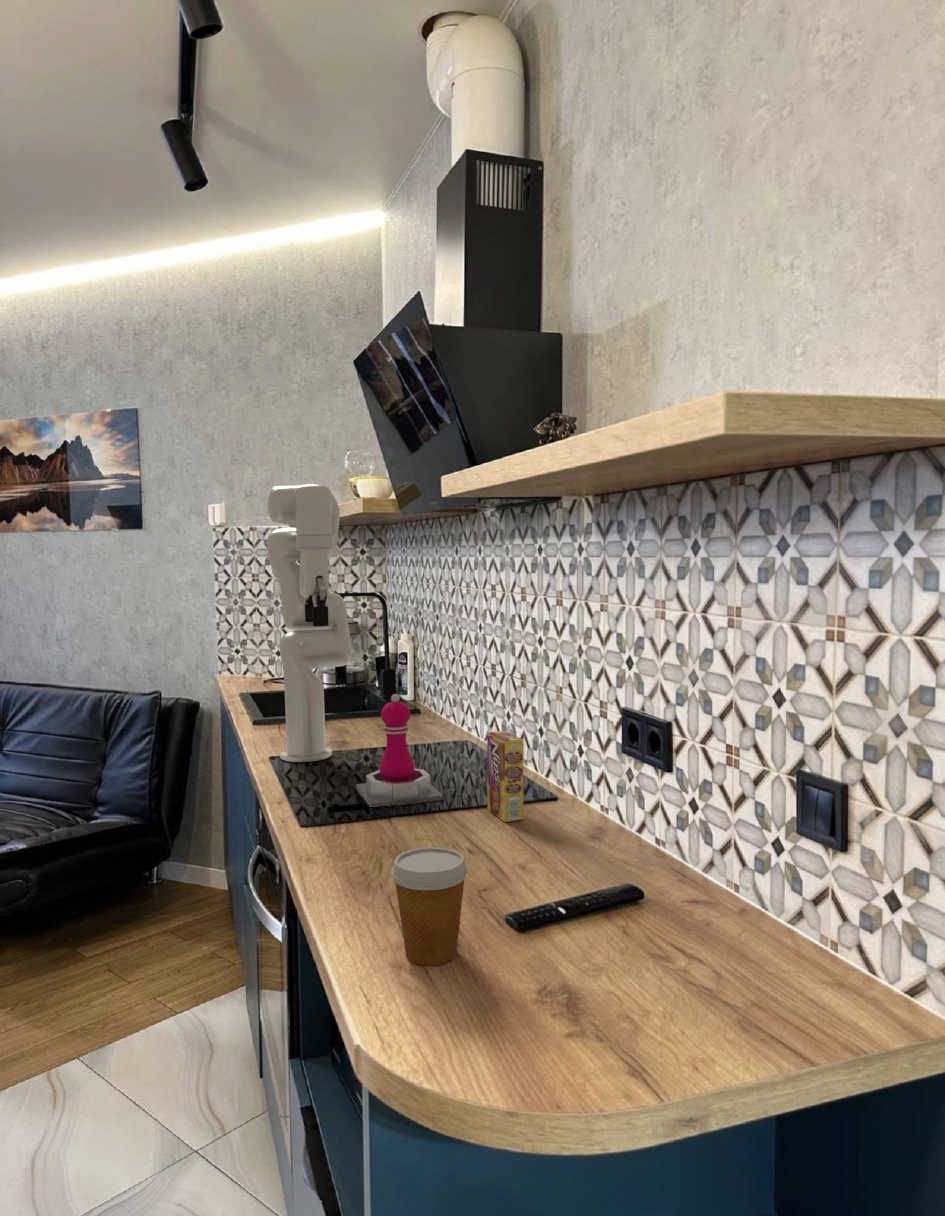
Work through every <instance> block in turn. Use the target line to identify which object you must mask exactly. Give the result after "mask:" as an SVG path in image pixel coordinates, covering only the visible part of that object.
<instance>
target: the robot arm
mask: <svg viewBox="0 0 945 1216" xmlns="http://www.w3.org/2000/svg"><path fill="white" fill-rule="evenodd" d="M266 503H267V506H266V507H267V513H268V517H269V518H270V520H271V521H272V522H273V523H277V524H283V525H286V526H288V527H283V528H278V529H275V530H272V531H271V532H270V533H269V534H268V537H267V540H266V548H267V554H268V559H269V560H268V561H269V563H270V566H271V568H272V572H273V573H274V575H275V576H276V579H277V581H278V584H279V585H278V586H279V590H280V591H279V592H280V601H281V612H282V620H283V623H284V625H285V626H286V628H287V629H289V630H291V631H289V632H287V633H285V634H284V635H283V636H282V637H281V638H280V641H279V654H280V660H281V665H282V672H283V681H284V682H283V684H284V685H283V686H284V703H285V704H284V705H285V706H284V707H285V734H286V735H285V738H286V739H285V740H286V749H285V750H283V751H281V752H280V755H279V757H280V759H281V760H283V761H286V762H290V763H291V762H292V763H309V762H310V763H311V762H317V761H322V760H326V759H329V758H330V757H331V756H333V750H332V749H331V748H328V747H326V728H325V727H326V726H325V725H326V723H325V721H326V720H325V719H326V717H325V691H324V690H325V688H324V684H323V682H322V680H321V679H320V678H319V677H318V676H317V675H316V673H314V671H313V670H314V669H319V668H320V669H321V668H323V669H325V668H336V667H337V668H338V667H344V666H346V665H348V664H349V663H350V661H351V659H352V654H353V653H352V652H353V650H352V639H351V634H350V627H349V621H348V620H349V618H348V613H347V607H346V603H345V600H344V598H343V597H342V595H340V594H338V593H334V592H330V571H329V560H330V559H332V558H333V557H334V556H335V554H336V552H337V546H338V545H337V544H338V537H339V536H338V535H339V527H340V520H341V519H340V518H341V517H340V516H341V515H340V507H339V503H338V501H337V499H336V497H335V494H333V492H332V490H331V489H330V487H329V486H327V485H324V484H301V485H286V486H285V485H279V486H277V485H276V486H274V487H272V488H271V489H270V490H269V493H268V497H267V502H266ZM296 561H299V563H297V562H296Z"/></svg>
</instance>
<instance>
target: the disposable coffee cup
mask: <svg viewBox="0 0 945 1216" xmlns="http://www.w3.org/2000/svg"><path fill="white" fill-rule="evenodd" d="M468 871H469V868H468V865H467V863H466V862H465V857H464V856H463V854H462V853H460V852H459V851H457V850H454V849H451V848H447V847H435V846H434V847H433V846H431V847H429V846H428V847H421V848H420V847H418V848H414V849H413V848H412V849H410V850H407V851H403V852H402V853H400V854H398V855H397V856H396V857H395V858H394V862H393V866H392V867H391V869H390V875H391V877H392V879H393V882H394V883H395V889H396V897H397V898H396V899H397V903H398V909H399V916H400V924H401V931H402V935H403V944H404V951H405V957H406V959H407V960H408V961H409V962H411V963H413V964H415V965H418V966H426V967H431V966H433V967H434V966H439V965H444V964H447V963H449V962H451V961H452V960H453V959H455V958H456V957H457V951H458V943H459V935H460V934H459V933H460V924H461V913H462V906H463V905H462V904H463V903H462V902H463V894H464V886H465V879H466V876H467V874H468Z"/></svg>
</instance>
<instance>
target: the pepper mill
mask: <svg viewBox="0 0 945 1216" xmlns="http://www.w3.org/2000/svg"><path fill="white" fill-rule="evenodd" d="M400 698H401V697H400V695H399V694H396V693H394V694H392V695H391V697H390V700H391V702H388V703H386V704H384V706H383V707H382V709H381V713H380V714H381V715H380V716H381V717H380V718H381V720H382V722H384V724H385V725H383V728H384V731H383V733H384V734H385V735H386V736H385V737H386V747H385V751H384V753H383V755H382V758H381V761H380V763H379V770H380V774H381V775H382V777H383V778H384V779H385V780H384V781H385V782H393V783H394V782H403V781H412V780H411V779H410V777H411V776H412V775H413V773H414V770H415V769H416V768H415V763H414V759H413V757H412V756H411V753H410V751H409V748H408V745H407V733H408V732H409V725H408V724H407V723H408V722H409V720H410V718H411V710H410V707H409V705H407V704H406V703H404V702H402V701H400V700H401V699H400Z"/></svg>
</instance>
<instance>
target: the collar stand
mask: <svg viewBox="0 0 945 1216" xmlns="http://www.w3.org/2000/svg"><path fill="white" fill-rule="evenodd" d="M365 779H366V780H365V782H364V783H356V784H355V789H356V791H357V790H358V791H357V792H358V793H360V794H359V796H360V797H361V798H362V797H363V798H364V799H363V798H362V799H363V801H364V800H365V801H366V802H367V804H368V805H369V807H379V806H388V807H392V806H391V805H397V806H402V805H403V806H405V805H412V804H413V805H414V804H423V803H422V802H424V803H431V802H433V803H434V802H440V801H444V795H443V794H442V793H441V792H440V791H439V790H438V789H437V788H436V787H435V786H434V785H433V784H432V783H431V775H430V774H429V773H428V772H427V771H426V770H425V769H421V768H415V770H414V773H413V775H412V776H411V777H410V779H411V780H412V781H403V782H394V783H393V782H385V781H384V780H385V779H384V778H383V777H382V775H381V774H380V769H378V770H375V771H373V772H370V773H369V774H366V775H365ZM365 801H364V802H365ZM366 802H365V803H366ZM367 804H366V805H367ZM368 805H367V806H368ZM369 807H368V808H369ZM379 808H380V807H379Z"/></svg>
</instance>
